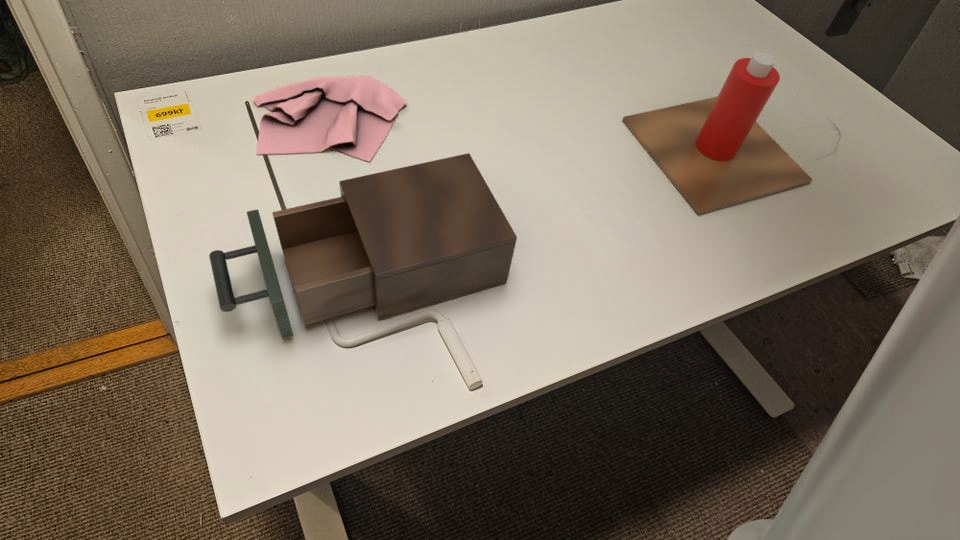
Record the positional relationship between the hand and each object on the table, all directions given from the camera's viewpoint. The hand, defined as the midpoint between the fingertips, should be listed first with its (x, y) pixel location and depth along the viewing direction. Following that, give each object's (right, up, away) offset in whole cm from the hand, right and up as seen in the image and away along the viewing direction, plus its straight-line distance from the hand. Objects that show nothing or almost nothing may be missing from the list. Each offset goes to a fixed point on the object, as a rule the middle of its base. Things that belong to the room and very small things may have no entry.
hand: (795, 1), depth 71 cm
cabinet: (-43, -30, +2) cm, 53 cm away
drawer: (-55, -33, -3) cm, 64 cm away
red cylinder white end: (-2, -13, +18) cm, 23 cm away
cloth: (-59, -10, +15) cm, 62 cm away
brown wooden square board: (-2, -14, +19) cm, 24 cm away
